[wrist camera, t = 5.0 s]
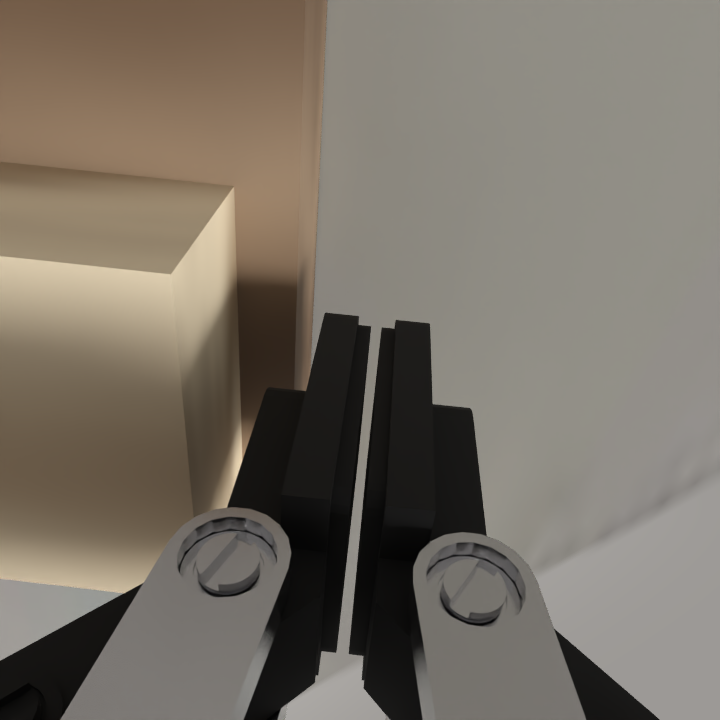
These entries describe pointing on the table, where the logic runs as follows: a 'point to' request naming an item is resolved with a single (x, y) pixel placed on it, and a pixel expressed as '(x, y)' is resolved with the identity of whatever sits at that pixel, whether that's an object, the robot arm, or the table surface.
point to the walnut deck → (190, 133)
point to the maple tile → (113, 370)
